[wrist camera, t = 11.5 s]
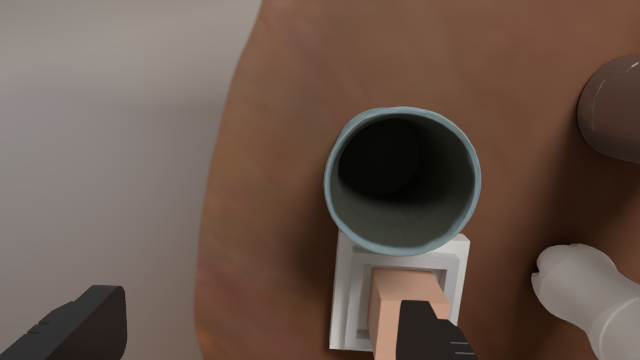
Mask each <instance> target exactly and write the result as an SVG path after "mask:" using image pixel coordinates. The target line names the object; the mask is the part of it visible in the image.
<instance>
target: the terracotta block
mask: <svg viewBox="0 0 640 360" xmlns="http://www.w3.org/2000/svg"><path fill="white" fill-rule="evenodd" d="M402 300H421V301H429V303H430V304H431V306H432V308H433V310H434V312H435V314H436V316H437V318H438V319H448V318H449V311H450V303H449V301H448V299H447V298H446V296H445V294H444V293H443V291H442V289H441V288H440V286H439V284H438V283H437V281H436V279H435V278H434V276H433V274H432V273H431V272H430V271H414V270H398V269H381V268H372V275H371V284H370V294H369V304H368V314H367V325H368V330H369V335H370V340H371V345H372V350H373V355H374V360H396V341H397V331H398V322H399V312H400V305H401V301H402Z"/></svg>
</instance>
